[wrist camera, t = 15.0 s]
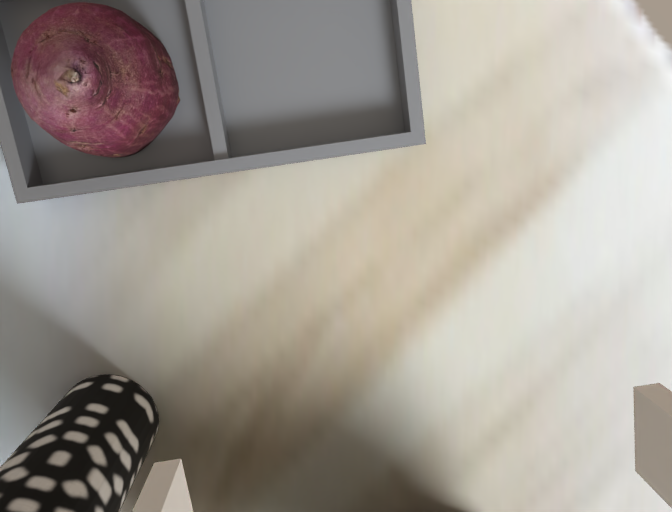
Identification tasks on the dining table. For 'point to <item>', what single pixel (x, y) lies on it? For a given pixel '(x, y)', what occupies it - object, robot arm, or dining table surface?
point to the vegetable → (95, 79)
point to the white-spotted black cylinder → (82, 450)
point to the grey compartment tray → (237, 91)
